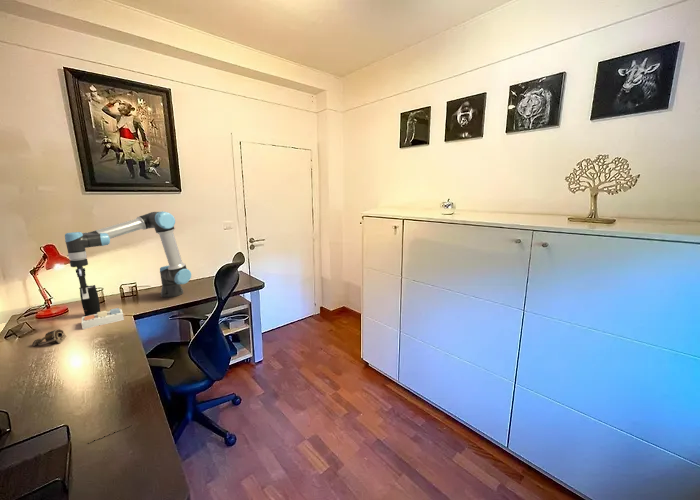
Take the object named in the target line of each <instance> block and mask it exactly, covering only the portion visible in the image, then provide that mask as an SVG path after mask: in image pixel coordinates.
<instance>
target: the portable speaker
mask: <svg viewBox="0 0 700 500" xmlns="http://www.w3.org/2000/svg"><path fill="white" fill-rule="evenodd" d="M87 286H88V287H87V289H88V294H89V298H88V299H83V297H82V292H81V289H79V295H80V301H81V302H80V303H81V306H82V309H83V313H84V316H89V315H94V314H97V312H101V306H100V305H101V304H100V299H99V294H98V290H97V288H96V287H97V286H96V285H95V284H94V285H93V284H92V285H87Z"/></svg>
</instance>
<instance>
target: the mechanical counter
mask: <svg viewBox="0 0 700 500" xmlns="http://www.w3.org/2000/svg"><path fill="white" fill-rule="evenodd" d="M65 338H67V335H66V334H65V332H64V330H62V329H60V328H57V329H54V330H51V331H48V332H47V333H45V335H44V337H42V338H36V339H35V340H34V341H33V342H32V346H33V347H37V346H42V345H46V344H50V345H53V344H56V343H58V344H61V343H62V342H63V341H64V340H65ZM43 341H44V342H43Z"/></svg>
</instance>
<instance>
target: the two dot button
mask: <svg viewBox="0 0 700 500" xmlns="http://www.w3.org/2000/svg"><path fill="white" fill-rule="evenodd" d="M107 312H108V310H100V312H97V315H98V317H103V316H107Z"/></svg>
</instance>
